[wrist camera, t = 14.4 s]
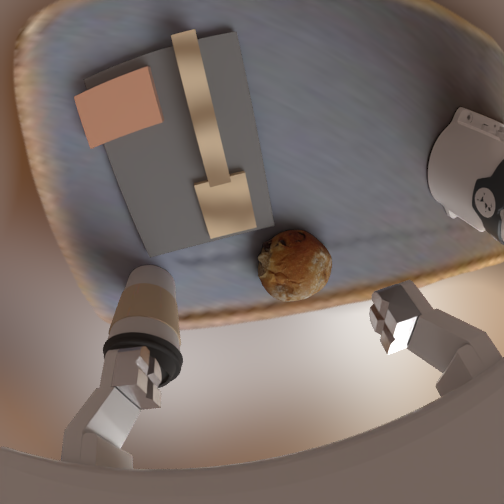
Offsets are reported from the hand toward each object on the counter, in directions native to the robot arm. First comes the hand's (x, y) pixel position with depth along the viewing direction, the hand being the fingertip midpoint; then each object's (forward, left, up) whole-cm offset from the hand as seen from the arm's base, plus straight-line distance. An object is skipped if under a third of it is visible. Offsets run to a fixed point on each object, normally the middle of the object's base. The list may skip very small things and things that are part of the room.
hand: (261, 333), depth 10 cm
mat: (+4, -1, -25) cm, 25 cm away
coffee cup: (+14, +16, -25) cm, 33 cm away
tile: (+5, -8, -23) cm, 25 cm away
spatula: (+1, -1, -24) cm, 24 cm away
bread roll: (-6, +17, -25) cm, 31 cm away
